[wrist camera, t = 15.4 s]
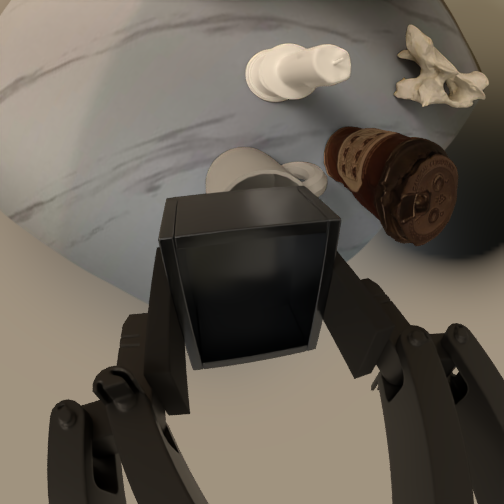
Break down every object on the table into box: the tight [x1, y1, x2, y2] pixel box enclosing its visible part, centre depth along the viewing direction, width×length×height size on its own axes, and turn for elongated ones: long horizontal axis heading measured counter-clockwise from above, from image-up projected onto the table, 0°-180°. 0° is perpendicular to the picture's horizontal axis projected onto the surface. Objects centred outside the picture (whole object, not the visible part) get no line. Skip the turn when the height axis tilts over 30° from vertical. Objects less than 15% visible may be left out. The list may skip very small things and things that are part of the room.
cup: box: [206, 147, 327, 197], centre depth 22 cm, size 7×10×9 cm
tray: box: [158, 186, 341, 370], centre depth 12 cm, size 6×7×4 cm
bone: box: [394, 24, 489, 108], centre depth 19 cm, size 9×14×8 cm, turn 101°
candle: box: [246, 44, 351, 102], centre depth 16 cm, size 5×5×12 cm
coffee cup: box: [324, 126, 458, 246], centre depth 21 cm, size 9×8×13 cm
